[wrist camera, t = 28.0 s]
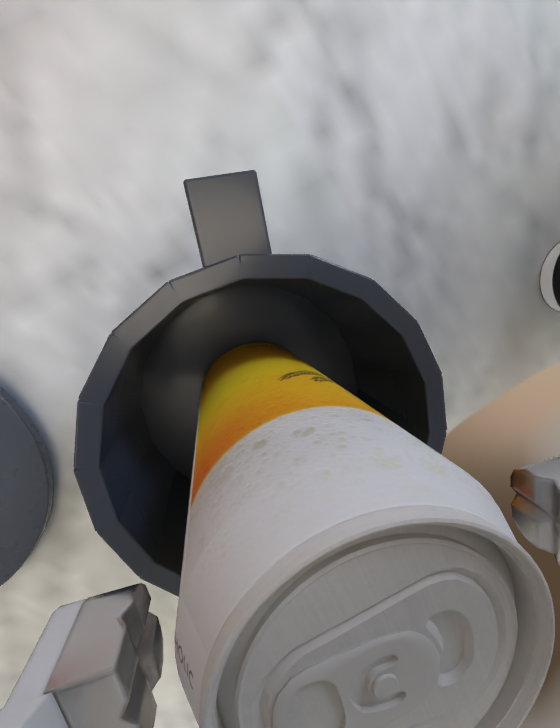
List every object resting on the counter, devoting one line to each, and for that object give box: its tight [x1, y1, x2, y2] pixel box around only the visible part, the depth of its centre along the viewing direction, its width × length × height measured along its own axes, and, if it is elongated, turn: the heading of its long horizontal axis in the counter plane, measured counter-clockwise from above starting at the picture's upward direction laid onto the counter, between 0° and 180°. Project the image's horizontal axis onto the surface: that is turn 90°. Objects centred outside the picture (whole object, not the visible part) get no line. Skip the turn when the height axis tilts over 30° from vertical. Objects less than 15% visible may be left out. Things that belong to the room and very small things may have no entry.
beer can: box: [175, 342, 555, 728], centre depth 12 cm, size 6×6×15 cm
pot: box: [74, 170, 447, 597], centre depth 16 cm, size 14×19×8 cm
